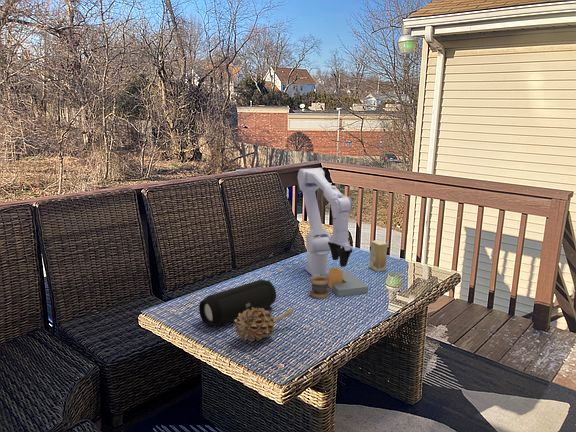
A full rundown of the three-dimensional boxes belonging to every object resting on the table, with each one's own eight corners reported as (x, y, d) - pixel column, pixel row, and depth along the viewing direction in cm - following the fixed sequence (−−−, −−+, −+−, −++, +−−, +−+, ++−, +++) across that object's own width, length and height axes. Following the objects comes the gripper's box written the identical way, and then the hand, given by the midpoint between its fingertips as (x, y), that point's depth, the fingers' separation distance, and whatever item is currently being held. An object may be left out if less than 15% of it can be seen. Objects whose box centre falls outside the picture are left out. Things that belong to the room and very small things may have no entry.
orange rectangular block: (328, 285, 178) (328, 268, 176) (337, 284, 179) (338, 267, 177) (332, 289, 174) (332, 272, 173) (341, 288, 175) (342, 271, 174)
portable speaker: (215, 333, 140) (214, 303, 137) (197, 322, 147) (196, 293, 144) (277, 309, 157) (278, 282, 154) (259, 300, 164) (259, 274, 161)
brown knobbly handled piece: (247, 354, 128) (247, 321, 126) (227, 341, 135) (226, 310, 133) (302, 328, 143) (302, 299, 141) (281, 318, 150) (281, 290, 148)
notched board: (320, 279, 184) (320, 273, 184) (347, 276, 188) (347, 270, 187) (338, 296, 167) (338, 290, 167) (367, 292, 171) (368, 286, 170)
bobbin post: (307, 291, 172) (307, 276, 170) (324, 289, 174) (324, 274, 172) (313, 299, 165) (314, 283, 164) (331, 296, 167) (332, 281, 166)
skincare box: (368, 267, 198) (370, 240, 195) (377, 266, 200) (378, 239, 197) (377, 272, 192) (379, 244, 190) (386, 270, 194) (387, 243, 191)
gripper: (323, 224, 178) (322, 257, 181) (338, 234, 164) (336, 270, 168) (340, 223, 180) (339, 256, 183) (356, 233, 166) (354, 268, 170)
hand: (339, 262), depth 175 cm, fingers open, 7 cm apart
